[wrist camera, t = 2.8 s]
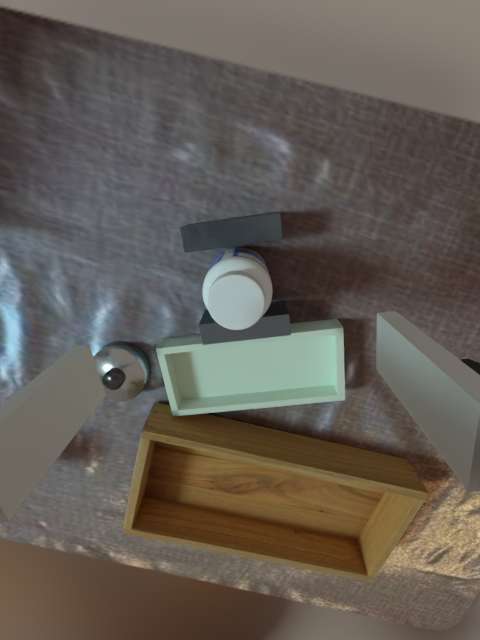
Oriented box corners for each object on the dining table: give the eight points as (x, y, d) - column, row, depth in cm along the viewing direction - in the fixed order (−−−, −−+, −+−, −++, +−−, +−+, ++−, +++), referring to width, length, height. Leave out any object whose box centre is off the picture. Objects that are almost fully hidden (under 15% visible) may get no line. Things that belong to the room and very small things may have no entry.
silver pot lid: (89, 344, 34) (74, 358, 31) (143, 338, 33) (133, 351, 30) (104, 392, 36) (92, 409, 33) (156, 387, 35) (148, 403, 32)
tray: (406, 456, 38) (432, 497, 33) (358, 539, 43) (373, 586, 38) (157, 396, 36) (140, 429, 31) (137, 490, 41) (121, 533, 36)
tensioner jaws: (189, 224, 29) (179, 227, 25) (276, 211, 28) (280, 213, 25) (208, 328, 32) (203, 345, 29) (286, 319, 32) (290, 335, 28)
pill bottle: (224, 308, 32) (213, 351, 23) (203, 257, 30) (182, 281, 21) (275, 290, 31) (286, 327, 22) (257, 236, 29) (260, 252, 20)
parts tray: (162, 338, 33) (155, 348, 31) (336, 318, 32) (343, 327, 29) (177, 402, 36) (172, 416, 33) (338, 386, 34) (345, 400, 32)
